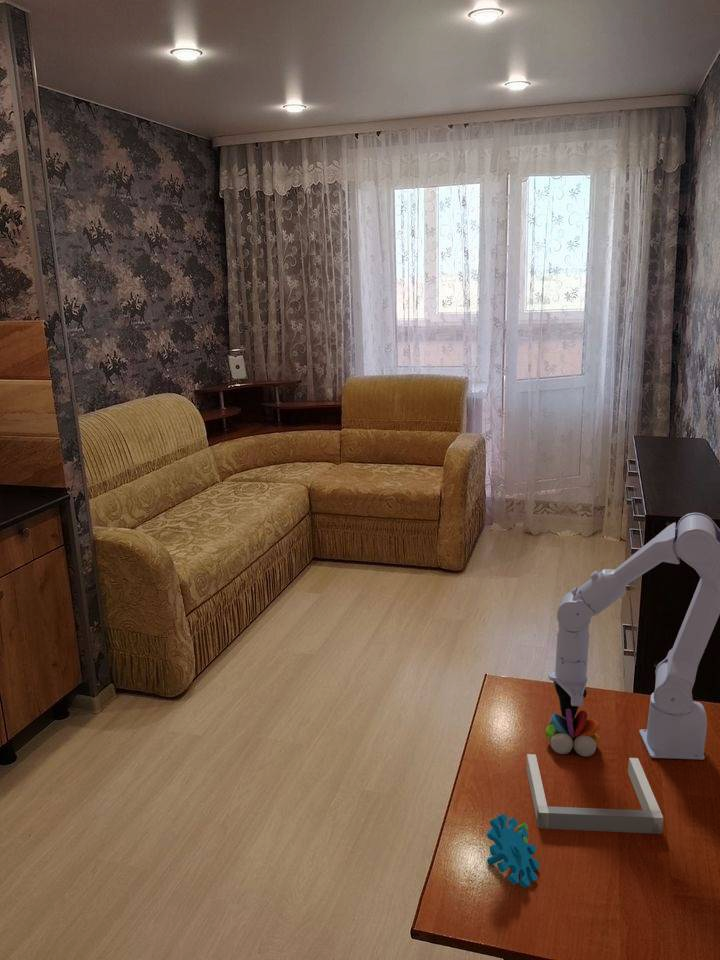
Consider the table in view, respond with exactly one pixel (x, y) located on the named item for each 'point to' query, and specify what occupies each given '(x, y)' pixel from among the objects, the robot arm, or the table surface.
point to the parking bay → (594, 817)
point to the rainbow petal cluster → (573, 733)
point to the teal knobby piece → (512, 850)
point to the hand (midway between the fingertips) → (567, 717)
